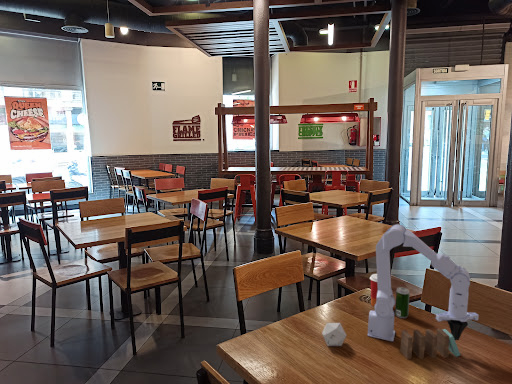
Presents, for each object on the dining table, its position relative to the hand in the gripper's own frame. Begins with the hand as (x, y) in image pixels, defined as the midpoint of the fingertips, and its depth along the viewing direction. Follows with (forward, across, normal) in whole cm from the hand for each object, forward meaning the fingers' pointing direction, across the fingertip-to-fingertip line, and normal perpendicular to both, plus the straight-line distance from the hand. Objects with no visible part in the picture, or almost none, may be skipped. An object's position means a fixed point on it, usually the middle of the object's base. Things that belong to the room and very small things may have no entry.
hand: (455, 338), depth 129 cm
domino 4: (+5, -4, 0) cm, 7 cm away
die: (+6, -42, +9) cm, 43 cm away
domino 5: (+5, 0, 0) cm, 5 cm away
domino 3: (+5, -9, 0) cm, 10 cm away
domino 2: (+5, -14, 0) cm, 15 cm away
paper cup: (+6, -13, +39) cm, 41 cm away
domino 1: (+5, -18, 0) cm, 19 cm away
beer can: (+6, -6, +28) cm, 30 cm away
